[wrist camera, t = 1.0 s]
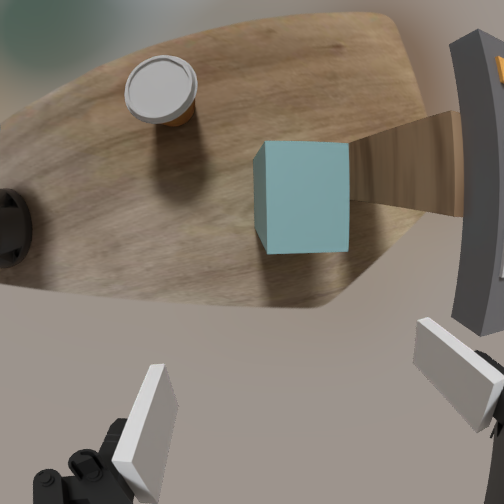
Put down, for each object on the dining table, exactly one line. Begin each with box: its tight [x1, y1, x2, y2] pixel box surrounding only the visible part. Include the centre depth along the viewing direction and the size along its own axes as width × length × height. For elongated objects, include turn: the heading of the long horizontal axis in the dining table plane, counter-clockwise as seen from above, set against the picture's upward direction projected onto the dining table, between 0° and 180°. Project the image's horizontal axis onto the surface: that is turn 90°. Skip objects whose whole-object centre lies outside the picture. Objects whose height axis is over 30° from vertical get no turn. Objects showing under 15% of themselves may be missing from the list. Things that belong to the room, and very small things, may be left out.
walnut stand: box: [349, 111, 464, 217], centre depth 34 cm, size 6×8×30 cm
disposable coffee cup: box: [125, 55, 197, 127], centre depth 39 cm, size 10×10×12 cm
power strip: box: [449, 29, 504, 337], centre depth 17 cm, size 4×22×4 cm, turn 1°
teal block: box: [253, 141, 349, 254], centre depth 39 cm, size 8×10×20 cm
